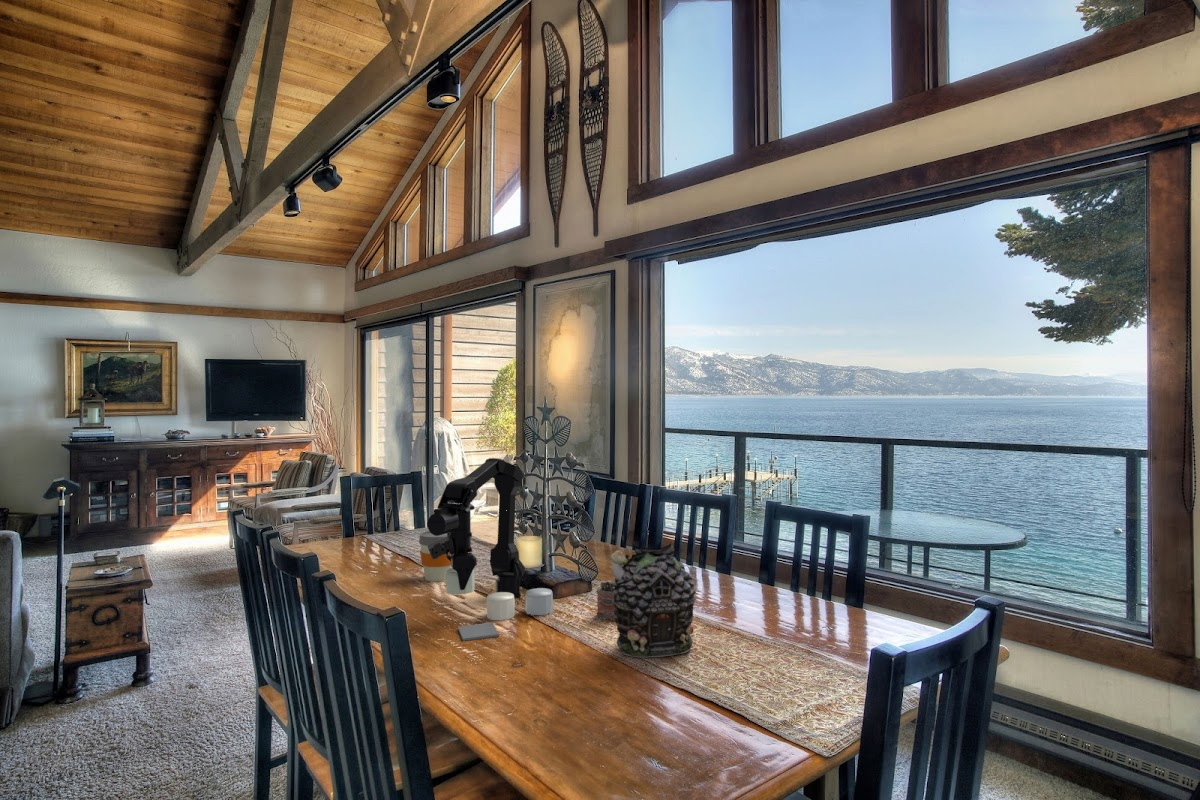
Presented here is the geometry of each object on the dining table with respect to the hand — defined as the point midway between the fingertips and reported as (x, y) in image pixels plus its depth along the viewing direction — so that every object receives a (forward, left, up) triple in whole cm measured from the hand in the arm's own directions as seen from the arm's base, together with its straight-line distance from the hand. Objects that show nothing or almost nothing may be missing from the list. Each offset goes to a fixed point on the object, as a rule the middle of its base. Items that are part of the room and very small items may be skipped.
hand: (460, 585), depth 180 cm
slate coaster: (-3, +11, -10) cm, 15 cm away
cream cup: (-11, 0, -10) cm, 14 cm away
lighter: (-39, +12, -10) cm, 42 cm away
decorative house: (-41, +37, -10) cm, 56 cm away
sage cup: (0, 0, -1) cm, 1 cm away
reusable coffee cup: (+1, -46, -10) cm, 47 cm away
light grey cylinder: (-22, 0, -10) cm, 24 cm away
